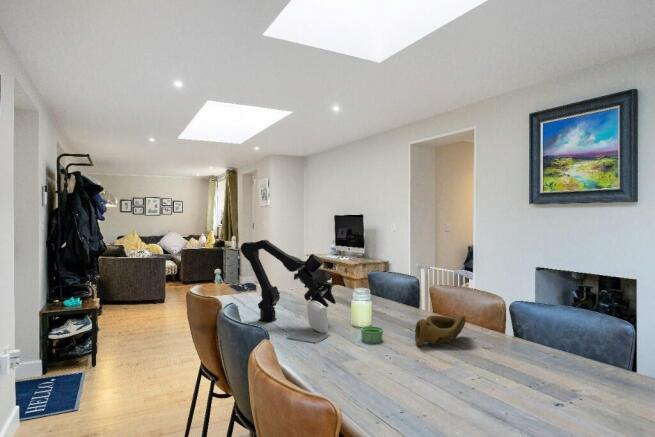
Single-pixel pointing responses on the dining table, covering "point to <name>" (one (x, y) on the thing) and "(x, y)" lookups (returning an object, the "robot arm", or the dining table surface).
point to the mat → (308, 336)
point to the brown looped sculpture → (438, 329)
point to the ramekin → (372, 334)
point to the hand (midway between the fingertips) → (331, 304)
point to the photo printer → (317, 316)
